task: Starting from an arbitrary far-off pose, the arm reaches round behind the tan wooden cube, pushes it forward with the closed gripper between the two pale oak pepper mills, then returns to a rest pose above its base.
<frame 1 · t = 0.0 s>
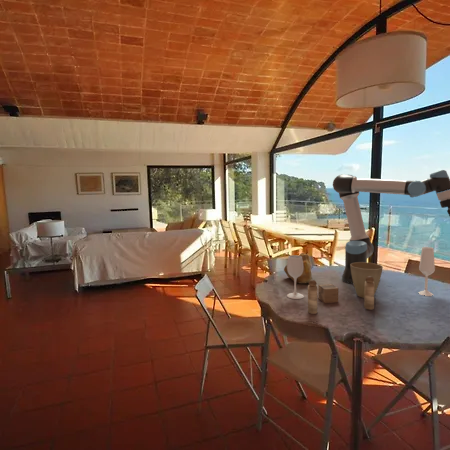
wineglass: (295, 296, 155), on the table
oak mill 1: (312, 312, 134), on the table
oak mill 2: (369, 307, 137), on the table
tan wooden cube: (328, 300, 148), on the table
rough brown rock: (297, 279, 185), on the table
plant pot: (365, 296, 153), on the table
champagne flute: (425, 294, 153), on the table
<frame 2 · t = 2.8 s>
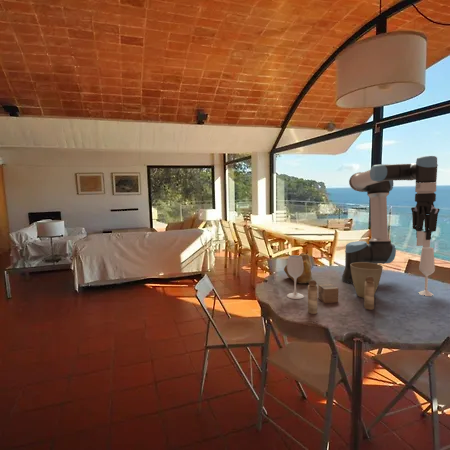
hand: (423, 246, 132), 29 cm above the table, tool pointing down, fingers open, 3 cm apart
nothing on the table moved.
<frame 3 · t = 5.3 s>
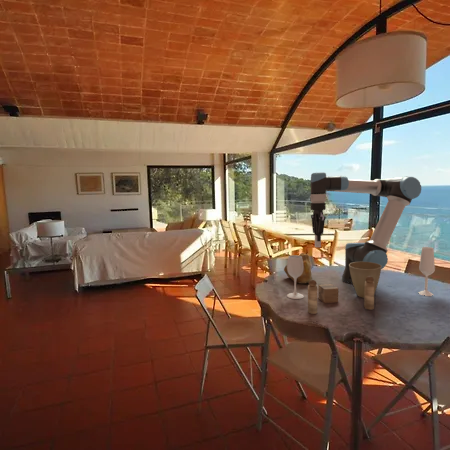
hand: (317, 246, 159), 24 cm above the table, tool pointing down, fingers closed
plant pot: (365, 295, 153), on the table, touching arm
everything else where it was.
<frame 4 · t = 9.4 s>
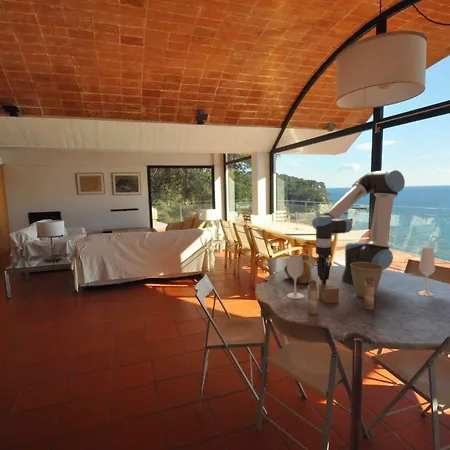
hand: (322, 291, 153), 3 cm above the table, tool pointing down, fingers closed
tan wooden cube: (328, 300, 148), on the table, touching gripper
plant pot: (365, 296, 153), on the table
everything else where it was.
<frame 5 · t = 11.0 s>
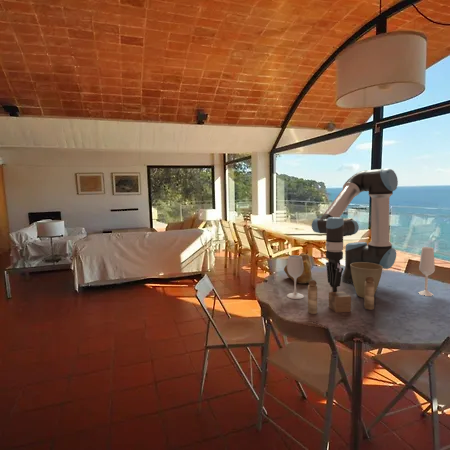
hand: (333, 299, 142), 3 cm above the table, tool pointing down, fingers closed
tan wooden cube: (339, 309, 137), on the table, touching gripper
everything else where it was.
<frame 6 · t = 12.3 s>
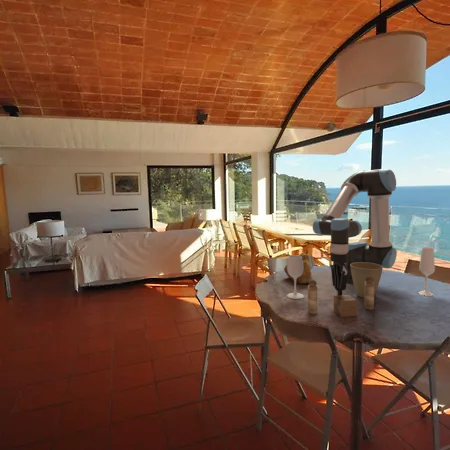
hand: (338, 303, 137), 2 cm above the table, tool pointing down, fingers closed
tan wooden cube: (344, 313, 132), on the table, touching gripper
everything else where it was.
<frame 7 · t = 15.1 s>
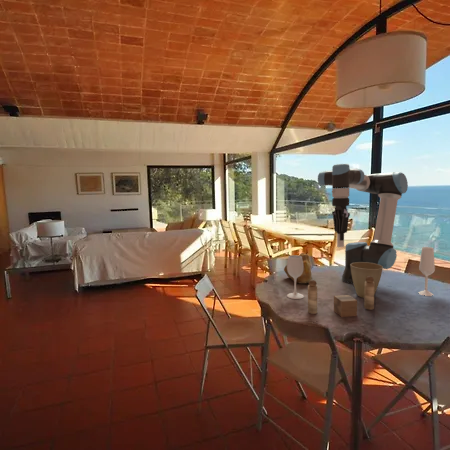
hand: (340, 246, 143), 27 cm above the table, tool pointing down, fingers closed
tan wooden cube: (345, 313, 132), on the table
everything else where it was.
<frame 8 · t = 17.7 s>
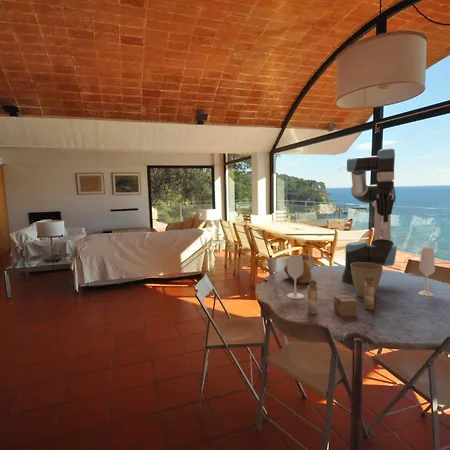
hand: (383, 228, 150), 34 cm above the table, tool pointing down, fingers closed
nothing on the table moved.
at the end: tan wooden cube inside the target area (1.8 cm from its centre), on the table; tan wooden cube tilted 0°; tan wooden cube touching table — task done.
